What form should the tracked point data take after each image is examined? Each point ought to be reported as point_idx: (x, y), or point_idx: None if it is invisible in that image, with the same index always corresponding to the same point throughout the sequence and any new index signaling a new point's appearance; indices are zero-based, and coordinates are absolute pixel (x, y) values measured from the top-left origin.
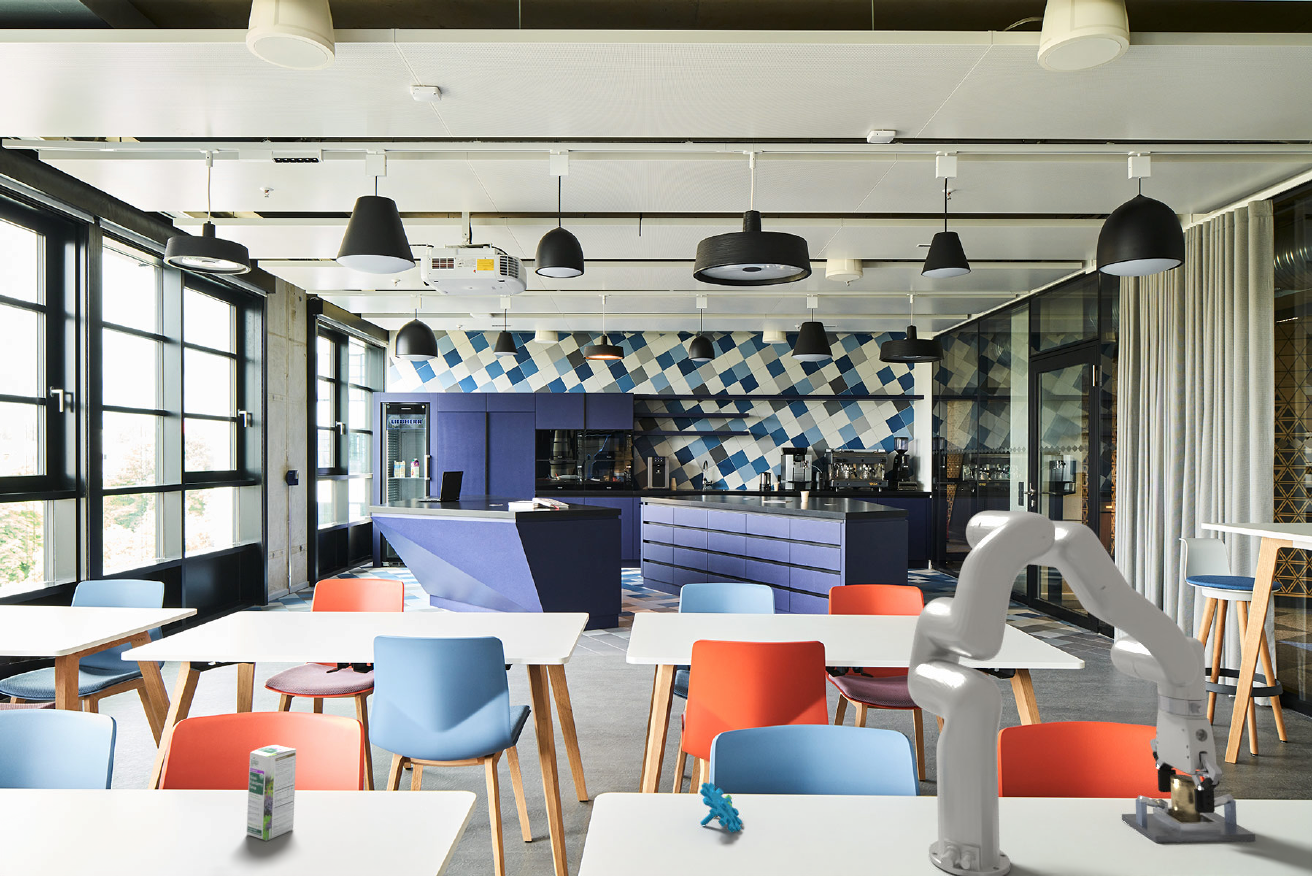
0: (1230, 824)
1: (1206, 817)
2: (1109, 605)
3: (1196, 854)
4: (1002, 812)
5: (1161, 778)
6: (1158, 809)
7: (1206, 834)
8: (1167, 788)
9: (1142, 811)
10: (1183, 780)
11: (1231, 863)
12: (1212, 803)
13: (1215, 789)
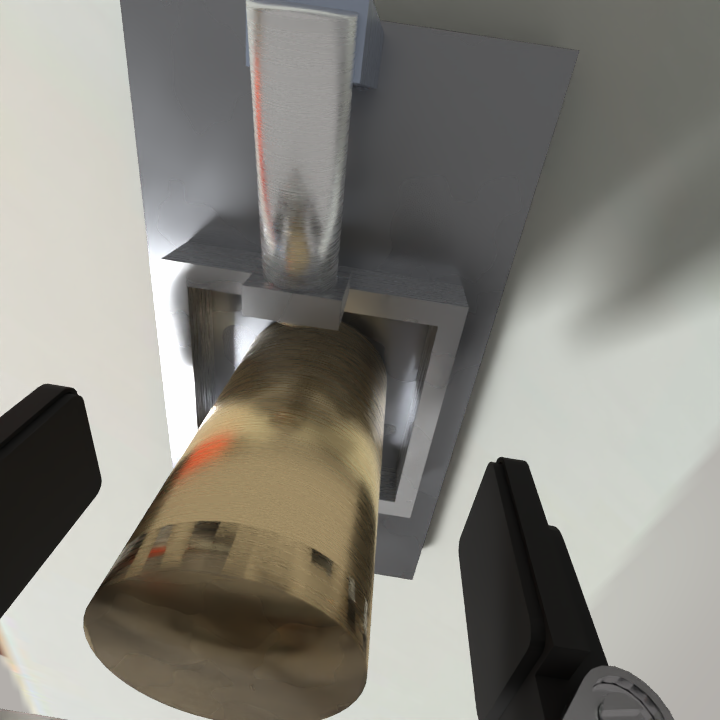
0: (370, 90)
1: (350, 310)
2: None
3: (548, 506)
4: (139, 710)
5: (28, 574)
6: None
7: (465, 394)
8: (77, 470)
9: None
10: (279, 696)
11: (682, 454)
12: (567, 559)
13: (656, 705)
